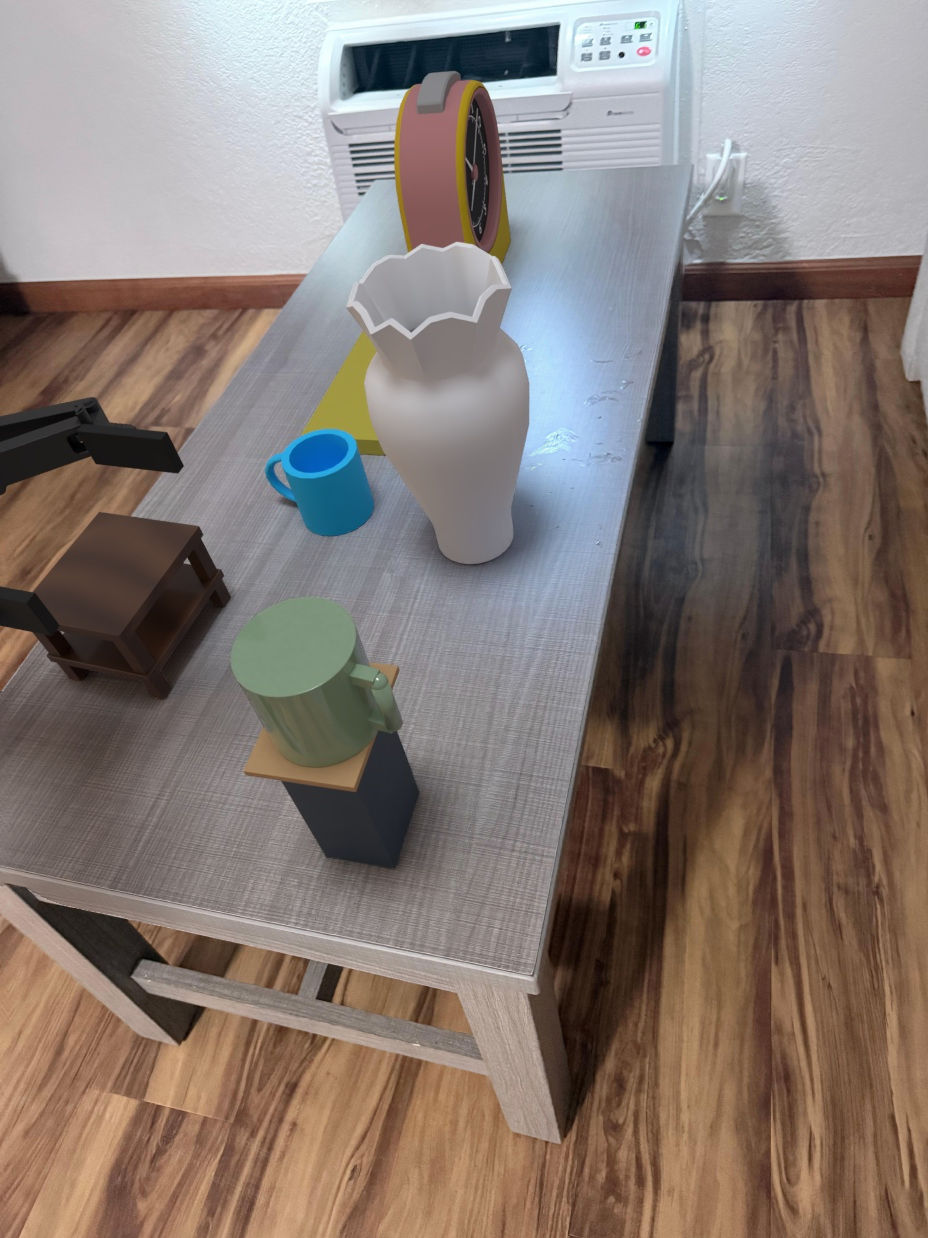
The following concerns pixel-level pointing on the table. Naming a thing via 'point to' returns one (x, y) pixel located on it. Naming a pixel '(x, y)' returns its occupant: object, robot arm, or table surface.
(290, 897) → the table surface
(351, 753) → the green coffee cup
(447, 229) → the alarm clock
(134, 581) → the rack
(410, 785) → the stand
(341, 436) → the mug
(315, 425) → the flat olive board
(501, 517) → the vase
